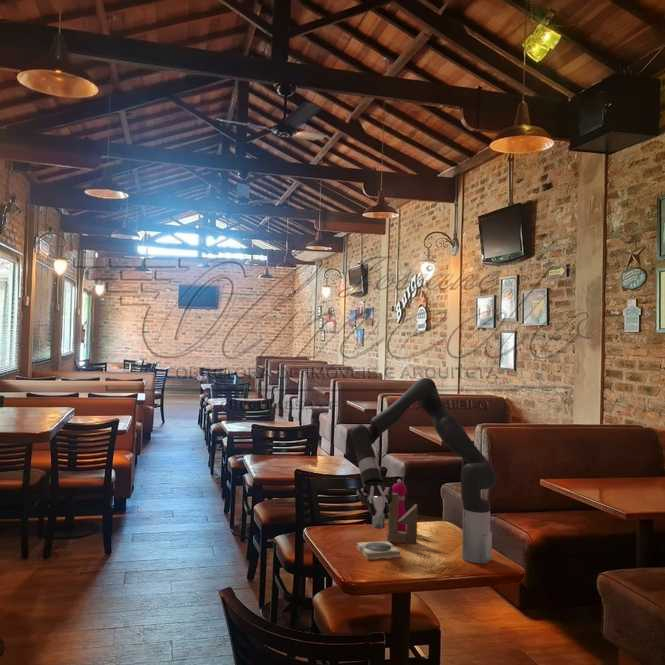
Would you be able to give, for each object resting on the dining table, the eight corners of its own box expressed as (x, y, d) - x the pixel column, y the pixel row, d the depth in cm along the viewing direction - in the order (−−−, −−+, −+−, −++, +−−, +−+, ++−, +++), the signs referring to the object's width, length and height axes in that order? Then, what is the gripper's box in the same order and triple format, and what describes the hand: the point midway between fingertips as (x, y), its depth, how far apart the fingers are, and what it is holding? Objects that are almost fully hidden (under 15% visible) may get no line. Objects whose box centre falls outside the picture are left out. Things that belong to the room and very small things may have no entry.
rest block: (400, 557, 206) (400, 551, 206) (367, 559, 203) (367, 553, 203) (387, 546, 217) (388, 540, 217) (356, 548, 214) (356, 542, 214)
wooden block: (416, 544, 221) (417, 495, 221) (387, 543, 221) (389, 494, 221) (415, 541, 224) (416, 493, 225) (387, 540, 224) (388, 492, 225)
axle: (386, 526, 211) (387, 495, 212) (380, 529, 208) (381, 498, 208) (376, 524, 214) (376, 493, 214) (369, 527, 210) (370, 496, 210)
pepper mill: (410, 528, 240) (411, 479, 241) (402, 532, 234) (403, 482, 235) (394, 525, 244) (395, 476, 245) (386, 529, 238) (387, 479, 239)
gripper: (385, 477, 225) (396, 518, 213) (349, 478, 222) (358, 520, 210) (390, 466, 220) (402, 508, 208) (354, 467, 217) (363, 509, 205)
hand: (380, 514), depth 209 cm, fingers closed on axle, 4 cm apart
